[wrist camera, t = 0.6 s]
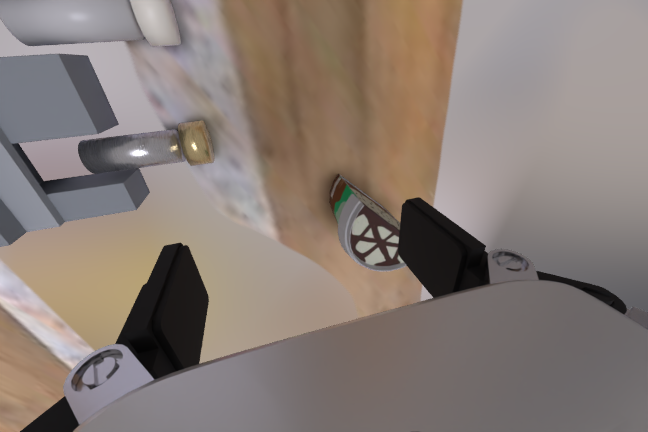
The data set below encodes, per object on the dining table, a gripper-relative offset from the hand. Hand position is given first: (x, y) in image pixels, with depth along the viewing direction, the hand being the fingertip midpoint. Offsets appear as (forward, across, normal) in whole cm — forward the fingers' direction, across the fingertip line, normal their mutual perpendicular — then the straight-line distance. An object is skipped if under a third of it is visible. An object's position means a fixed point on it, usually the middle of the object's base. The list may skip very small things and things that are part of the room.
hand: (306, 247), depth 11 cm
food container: (+21, -9, +11) cm, 26 cm away
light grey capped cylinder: (+21, +11, -11) cm, 26 cm away
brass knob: (+21, +11, -1) cm, 24 cm away
